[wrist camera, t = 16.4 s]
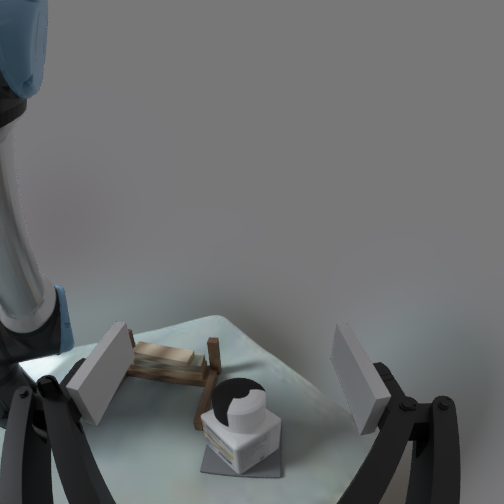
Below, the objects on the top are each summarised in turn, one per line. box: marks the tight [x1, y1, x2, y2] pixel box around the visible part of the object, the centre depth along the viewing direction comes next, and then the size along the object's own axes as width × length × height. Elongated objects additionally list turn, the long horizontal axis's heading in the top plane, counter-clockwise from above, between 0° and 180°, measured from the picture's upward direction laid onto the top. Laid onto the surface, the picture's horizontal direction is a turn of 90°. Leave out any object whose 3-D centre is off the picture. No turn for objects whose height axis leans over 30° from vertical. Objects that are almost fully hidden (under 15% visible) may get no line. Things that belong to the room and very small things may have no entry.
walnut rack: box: [116, 329, 221, 430], centre depth 44 cm, size 21×17×8 cm
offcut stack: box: [130, 342, 207, 380], centre depth 49 cm, size 16×5×4 cm, turn 86°
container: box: [201, 378, 281, 474], centre depth 30 cm, size 8×8×13 cm
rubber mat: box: [200, 429, 281, 478], centre depth 32 cm, size 11×11×1 cm
